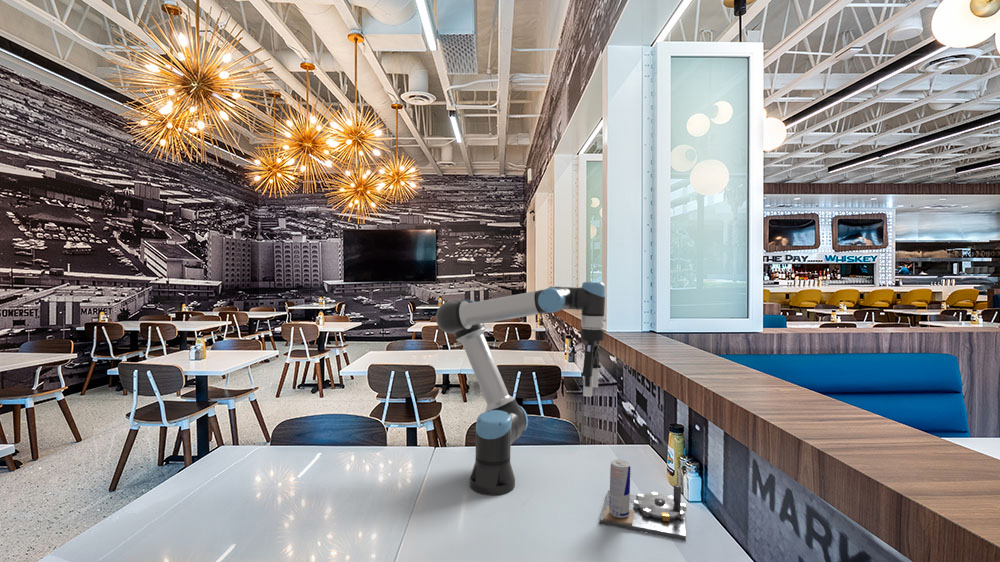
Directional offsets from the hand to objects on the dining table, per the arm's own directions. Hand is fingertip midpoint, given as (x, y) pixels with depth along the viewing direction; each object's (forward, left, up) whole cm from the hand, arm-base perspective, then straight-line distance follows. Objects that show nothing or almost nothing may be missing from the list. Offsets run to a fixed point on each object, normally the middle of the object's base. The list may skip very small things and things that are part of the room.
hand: (590, 391), depth 163 cm
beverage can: (+12, -20, -30) cm, 38 cm away
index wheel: (+23, -11, -30) cm, 40 cm away
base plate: (+18, -14, -32) cm, 39 cm away
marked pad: (+12, -20, -30) cm, 38 cm away
